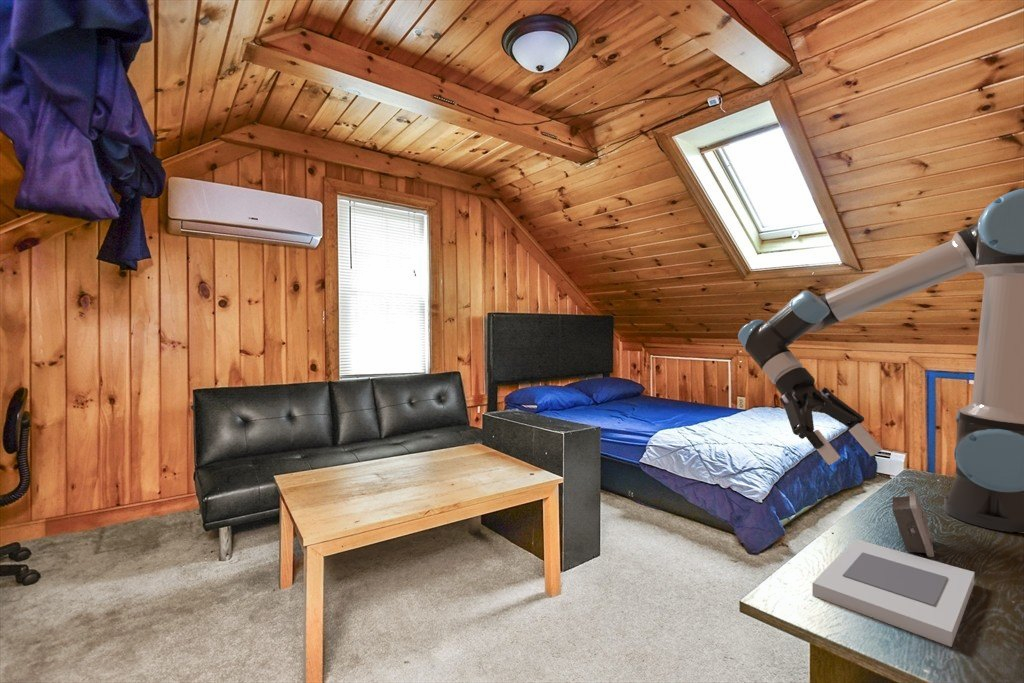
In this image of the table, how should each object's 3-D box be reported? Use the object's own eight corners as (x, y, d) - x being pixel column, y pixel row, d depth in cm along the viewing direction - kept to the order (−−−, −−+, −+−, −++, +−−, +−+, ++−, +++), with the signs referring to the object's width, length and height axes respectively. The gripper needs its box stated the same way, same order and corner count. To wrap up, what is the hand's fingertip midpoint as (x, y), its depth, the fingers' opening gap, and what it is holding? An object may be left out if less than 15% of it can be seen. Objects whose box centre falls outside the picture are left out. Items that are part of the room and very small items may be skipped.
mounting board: (854, 549, 89) (854, 537, 89) (974, 584, 77) (974, 570, 77) (812, 595, 75) (812, 581, 75) (951, 647, 63) (951, 630, 63)
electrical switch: (934, 560, 85) (928, 507, 85) (897, 554, 88) (891, 503, 88) (932, 541, 92) (926, 492, 92) (897, 536, 95) (892, 489, 96)
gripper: (813, 382, 119) (879, 458, 106) (740, 390, 109) (802, 474, 96) (835, 362, 114) (907, 440, 101) (760, 368, 104) (829, 455, 91)
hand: (856, 457), depth 99 cm, fingers open, 13 cm apart
